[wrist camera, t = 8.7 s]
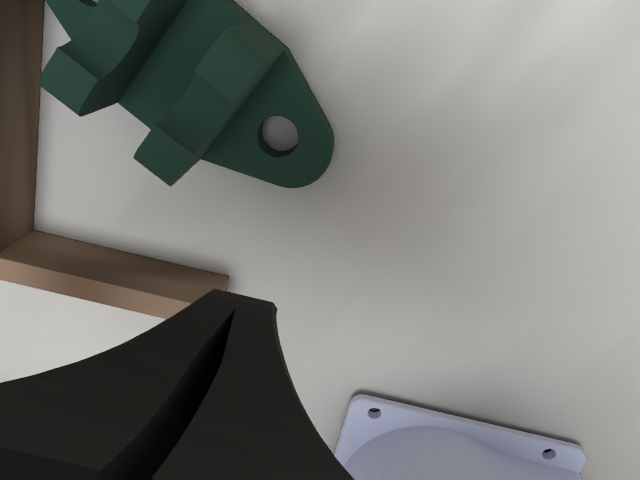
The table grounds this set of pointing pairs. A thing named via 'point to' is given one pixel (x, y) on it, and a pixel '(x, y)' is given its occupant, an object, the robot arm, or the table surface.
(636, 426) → the table surface
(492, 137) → the table surface
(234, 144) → the mount
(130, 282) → the dock bay
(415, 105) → the table surface
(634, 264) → the table surface
